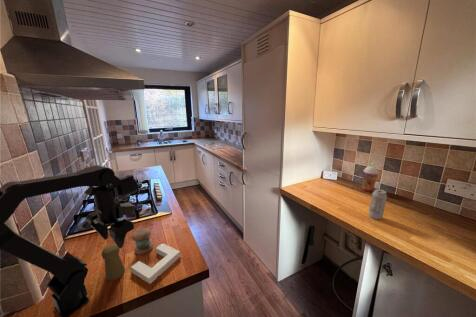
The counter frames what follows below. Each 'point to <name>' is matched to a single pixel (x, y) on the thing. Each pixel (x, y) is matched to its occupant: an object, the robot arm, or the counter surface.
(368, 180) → the smoothie
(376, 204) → the energy drink can
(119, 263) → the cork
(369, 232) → the counter surface
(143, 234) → the brown spool-shaped piece
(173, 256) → the notched board
